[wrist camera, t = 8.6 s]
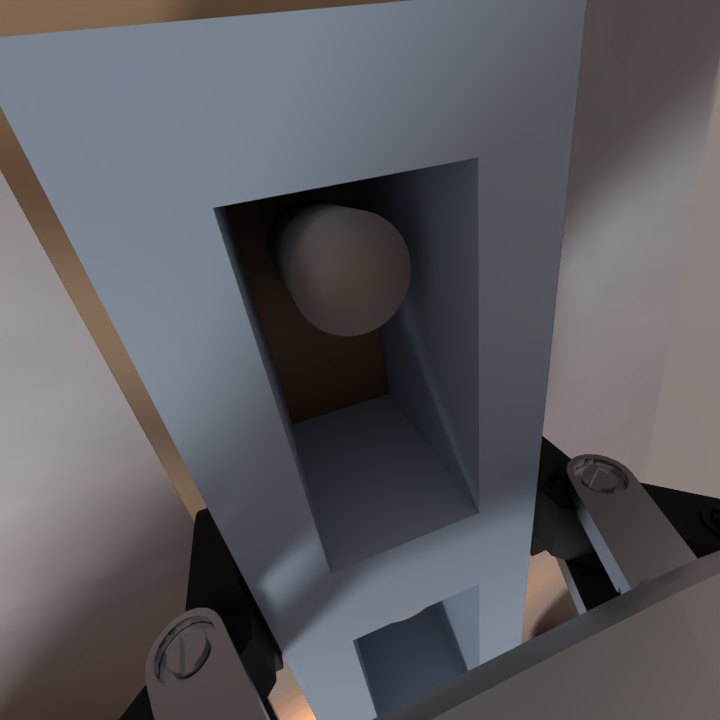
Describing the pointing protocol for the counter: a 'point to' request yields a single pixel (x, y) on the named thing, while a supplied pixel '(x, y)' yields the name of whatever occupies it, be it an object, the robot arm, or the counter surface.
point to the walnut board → (243, 251)
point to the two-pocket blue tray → (399, 334)
